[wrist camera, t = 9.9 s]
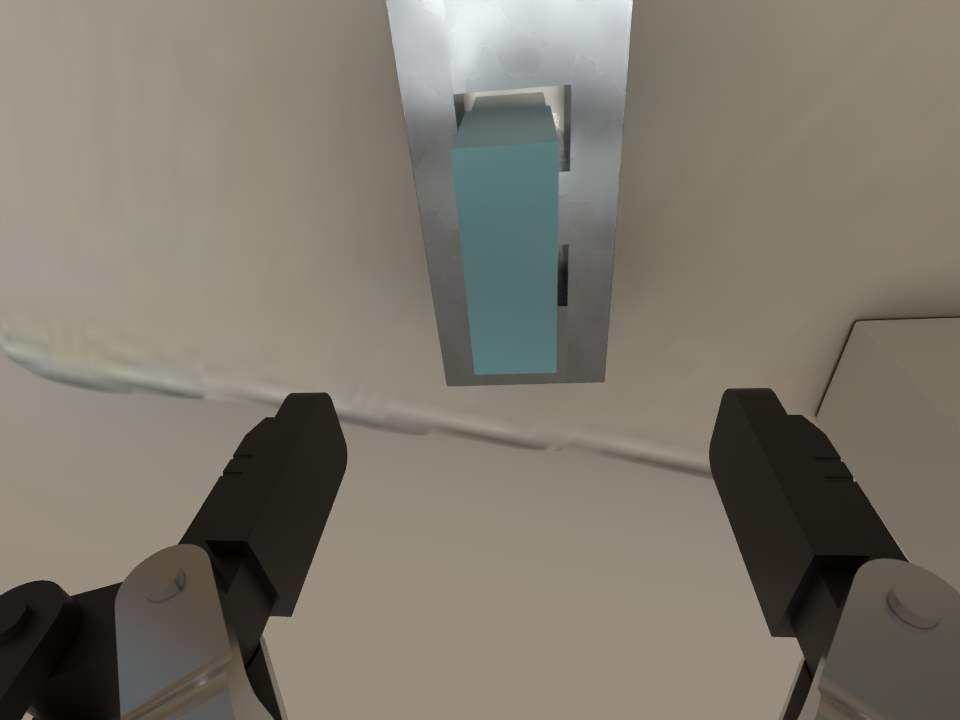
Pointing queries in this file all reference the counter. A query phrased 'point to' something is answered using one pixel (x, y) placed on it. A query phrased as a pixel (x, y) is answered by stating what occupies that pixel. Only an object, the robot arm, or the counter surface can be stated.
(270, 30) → the counter surface
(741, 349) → the counter surface
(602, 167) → the grey socket block
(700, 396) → the counter surface
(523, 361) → the teal elongated block
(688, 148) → the counter surface
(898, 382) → the milk carton
